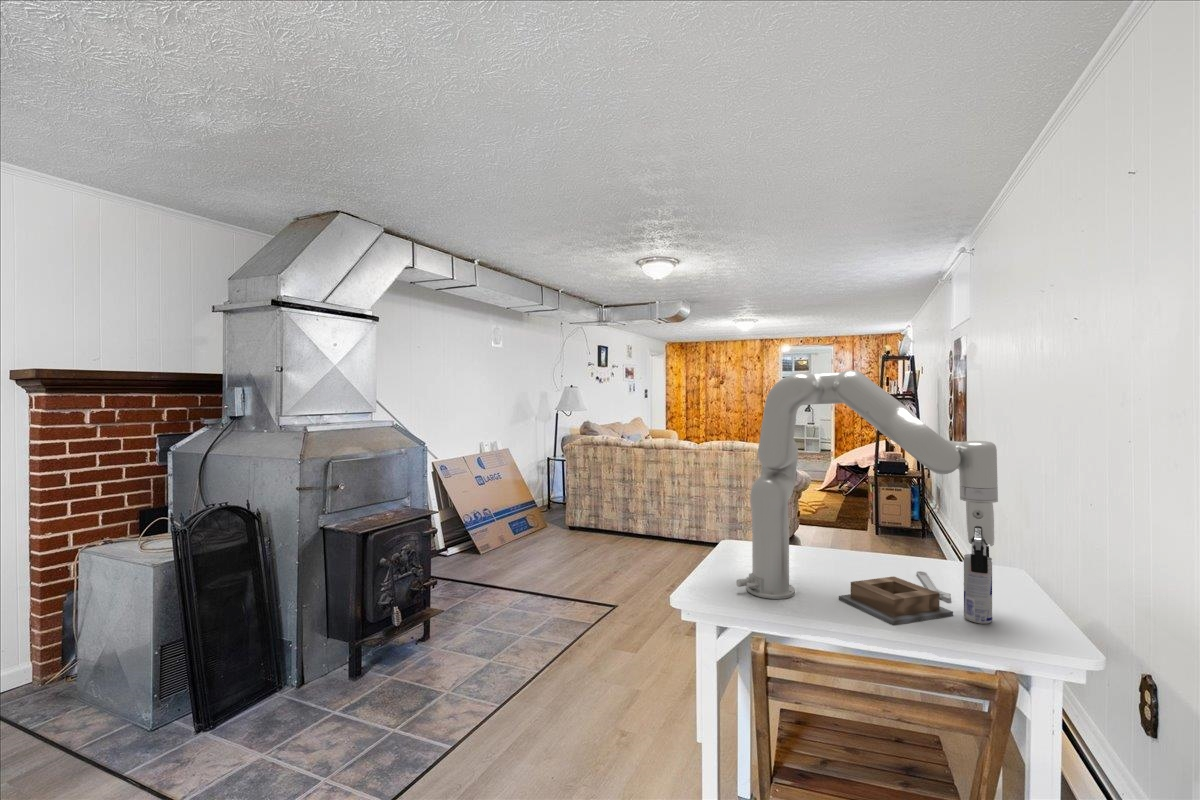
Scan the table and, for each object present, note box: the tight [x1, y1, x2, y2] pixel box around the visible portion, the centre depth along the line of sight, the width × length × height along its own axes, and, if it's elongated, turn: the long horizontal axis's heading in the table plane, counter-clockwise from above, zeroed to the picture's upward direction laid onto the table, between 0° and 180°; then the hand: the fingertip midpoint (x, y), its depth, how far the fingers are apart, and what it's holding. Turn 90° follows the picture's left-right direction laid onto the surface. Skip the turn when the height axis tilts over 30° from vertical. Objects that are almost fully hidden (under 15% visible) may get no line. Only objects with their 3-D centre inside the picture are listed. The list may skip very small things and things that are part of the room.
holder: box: [838, 576, 954, 626], centre depth 147 cm, size 18×18×5 cm
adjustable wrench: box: [916, 571, 952, 604], centre depth 161 cm, size 25×6×2 cm, turn 157°
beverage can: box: [963, 553, 993, 625], centre depth 139 cm, size 6×6×15 cm
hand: (980, 567), depth 138 cm, fingers open, 9 cm apart
